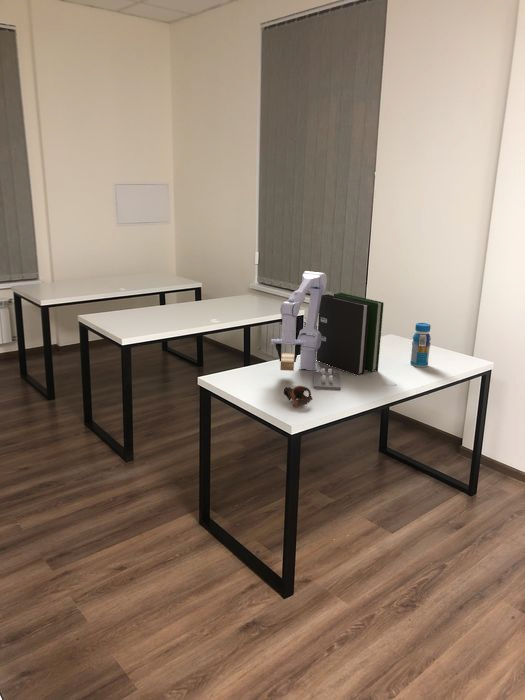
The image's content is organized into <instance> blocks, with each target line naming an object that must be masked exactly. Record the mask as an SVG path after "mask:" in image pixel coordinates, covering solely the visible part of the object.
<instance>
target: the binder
mask: <svg viewBox="0 0 525 700" xmlns="http://www.w3.org/2000/svg"><path fill="white" fill-rule="evenodd" d="M384 304H385V303H384V302H382V301H379V300H376V299H375V300H374V299H370V298H365V297H361V296H357V295H354V294H349V293H345V292H338V293H337V292H336V293H333V295H332V294H328V293H327V294H322V296H321V302H320V308H319V314H318V320H317V330H318V331H319V332H320V333H321V345H320V348H319V349H318V350H317V352H316V360H317V361H320V362H322V363H321V364H323V363H325V364H324V365H326V364H328V365H327V366H329V365H330V366H329V367H332V366H333V367H332V368H334V367H336V368H335V369H337V368H338V369H337V370H340V369H341V371H343V370H344V371H343V372H346V371H347V373H350V374H351V373H352V375H354V374H355V376H357V375H359V376H360V374H361V373H362V374H361V375H363V374H364V375H365V371H366V370H367V371H366V372H369V371H370V372H369V373H372V372H374V371H375V370H376V371H375V372H378V371H379V362H380V352H381V351H380V350H381V341H382V340H381V338H382V328H383V327H382V325H383V317H384V316H383V313H384ZM317 361H316V362H317ZM320 362H319V363H320Z"/></svg>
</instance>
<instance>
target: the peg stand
mask: <svg viewBox="0 0 525 700" xmlns="http://www.w3.org/2000/svg"><path fill="white" fill-rule="evenodd" d="M312 375H313V376H314V377H313V389H314V390H328V389H330V390H332V391H341V389H342V386H341V380H340V374H339V372H338V371H337V372H333V369H332V368H328V369H327V371H326V369H325V368H324V367H322V368H321V369H320V371H317V370H313V374H312Z"/></svg>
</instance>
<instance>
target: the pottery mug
mask: <svg viewBox="0 0 525 700" xmlns="http://www.w3.org/2000/svg"><path fill="white" fill-rule="evenodd" d="M282 392H283V394H284V396H285V397H286V398H287V399H288V401H291V400H292V401H293V402H292V405H291V406H292V407H293V408H295V409H296V408H298V407H301V406H306V405H308V404H309V403H310V402H311V401H312V400H313V397H312V392H311V390H310V389H309V387H306V386H304V385H297V386H296V385H295V386H294V387H290V386H285V387H284V388H283V390H282ZM305 392H307V393H308V395H306V394H304V393H305Z"/></svg>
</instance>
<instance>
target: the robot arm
mask: <svg viewBox="0 0 525 700" xmlns="http://www.w3.org/2000/svg"><path fill="white" fill-rule="evenodd" d="M327 282H328V278H327V275H326V273H325V272H317V271H316V272H315V271H308V270H305V271H304V272H303V274H302V276H301V283H300V285H299V286H298V289H297V290H294V291H293V292H292V293H291V295H290V296H289V298H288V299H287V300H286V301H283V302H282V303H281V305H280V309H279V310H280V311H279V312H280V315H281V316H280V318H281V320H282V324H281V325H282V327H281V328H282V329H281V338H271V341H270V345H271V346H272V345H275V346H274V347H275V349H276V352H277V355H278V357H279V362H281V357H282V345H284V346H285V345H286V346H294V354H295V356H294V363H296V361H297V358H298V355H299V352H300V356H299V357H300V362H299V364H298V365H299V366H298V369H299V370H301V369H306V370H305V371H317V370H318V369H317V368H318V367H317V361H316V356H317V350H318V349H319V348H320V345H321V333H320V332H319V331H318V328H317V327H318V320H319V308H320V302H321V296H322V295H323V293H324V292H326V289H327V284H328V283H327ZM308 292H309V293H310V296H309V304H308V309H307V315H306V321H305V327H303V328H302V329H300V330H299V334H298V336H297V339H296V333H297V329H296V328H297V317H298V315H299V313H300V309H301V306H302V304H303V303H304V302H305V300H306V294H307V293H308Z"/></svg>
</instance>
